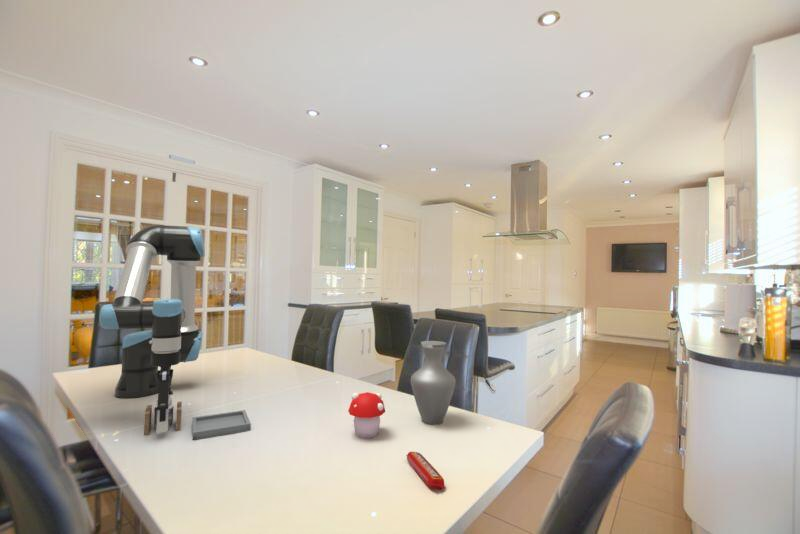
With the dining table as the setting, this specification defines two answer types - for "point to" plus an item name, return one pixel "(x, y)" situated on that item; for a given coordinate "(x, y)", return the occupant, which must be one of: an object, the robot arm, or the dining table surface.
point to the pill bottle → (170, 414)
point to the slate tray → (220, 424)
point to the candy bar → (425, 470)
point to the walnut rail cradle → (149, 415)
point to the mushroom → (366, 413)
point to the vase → (433, 384)
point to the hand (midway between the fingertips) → (163, 424)
